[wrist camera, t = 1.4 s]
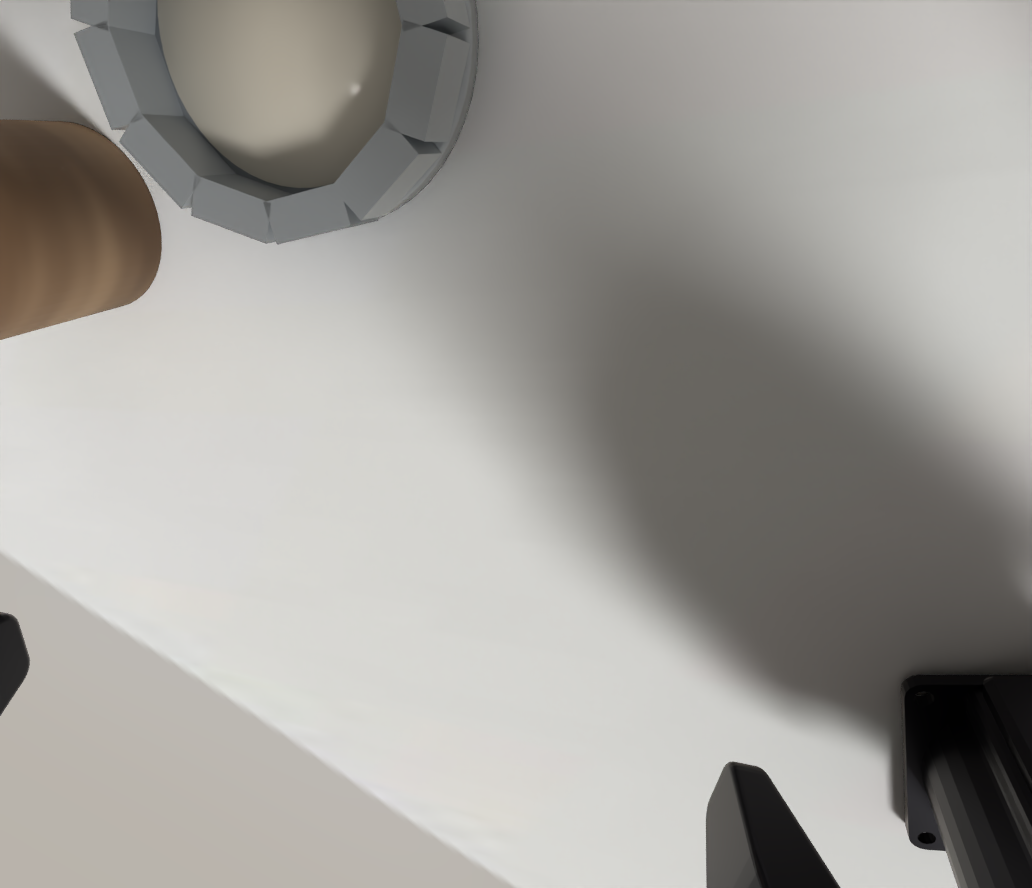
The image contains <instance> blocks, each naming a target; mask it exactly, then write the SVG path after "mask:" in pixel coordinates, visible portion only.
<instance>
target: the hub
mask: <svg viewBox="0 0 1032 888" xmlns="http://www.w3.org/2000/svg"><path fill="white" fill-rule="evenodd" d="M71 19H74V20H77V21H80V22H83V23H85V24H88V25H91V27H89V28H86V29H84V30H81V31H79V32H76V33H74V35H75V38H76V40H77V43H78V45H79V48H80V50H81V53H82V55H83V58H84V61H85V63H86V66H87V68H88V71H89V73H90V76H91V78H92V81H93V83H94V86H95V89H96V91H97V94H98V96H99V99H100V101H101V104H102V106H103V109H104V111H105V114H106V117H107V119H108V122H109V124H110V127H111V129H112V130H126V131H125V132H124V134H123V136H122V137H121V139H120V141H119V142H120V143H121V144H122V145H123V146H124V147H125V148H126V150H127V151H128V152H129V153H130V154H131V155H132V156H133V157H134V158H135V159H136V160H137V161H138V162H139V164H140V165H141V166H142V167H143V168H144V169H145V170H146V171H147V172H148V173H149V174H150V175H151V176H152V178H153V179H154V180H155V181H156V182H157V183H158V184H159V185H160V186H161V187H162V188H163V189H164V190H165V192H166V193H167V194H168V195H169V196H170V197H171V198H172V199H173V200H174V201H175V202H176V203H177V204H178V206H179V207H180V208H181V209H183V208H191V207H192V214H191V216H194V217H196V218H199V219H202V220H204V221H207V222H210V223H212V224H215V225H218V226H220V227H223V228H226V229H228V230H231V231H234V232H236V233H239V234H242V235H244V236H247V237H250V238H252V239H255V240H258V241H260V242H263V243H266V244H267V243H271V242H276V243H277V244H281V243H285V242H290V241H294V240H298V239H302V238H307V237H311V236H315V235H319V234H323V233H328V232H332V231H336V230H340V229H344V228H348V227H353V226H357V225H361V224H365V223H369V222H373V221H377V220H378V219H379V218H381V217H383V216H385V215H388V214H389V213H391V212H393V211H395V210H397V209H398V208H400V207H401V206H403V205H404V204H405V203H407V202H408V201H410V200H411V199H412V198H414V197H415V196H416V195H417V194H418V193H419V192H420V191H421V190H422V189H423V188H424V187H425V186H426V185H427V184H428V183H429V182H430V181H431V180H432V178H433V177H434V176H435V174H436V173H437V172H438V171H439V169H440V168H441V167H442V165H443V164H444V162H445V161H446V159H447V157H448V155H449V154H450V152H451V150H452V149H453V147H454V145H455V143H456V141H457V139H458V136H459V134H460V132H461V129H462V127H463V125H464V122H465V119H466V116H467V112H468V109H469V106H470V102H471V99H472V95H473V89H474V83H475V78H476V72H477V60H478V44H479V39H478V17H477V8H476V1H475V0H71Z"/></svg>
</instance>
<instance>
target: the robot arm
mask: <svg viewBox="0 0 1032 888" xmlns="http://www.w3.org/2000/svg"><path fill="white" fill-rule="evenodd" d="M29 665H30V658H29V654H28V651H27V648H26V645H25V641H24V638H23V635H22V632H21V629H20V625H19V622H18V621H17V619H16V618H15V617H14V616H13V615H11V614H8V613H3V612H0V716H1V714H2V712H3V711H4V709H5V708H6V706H7V705H8V703H9V702H10V700H11V699H12V697H13V696H14V694H15V693H16V691H17V690H18V688H19V687H20V685H21V684H22V682H23V680H24V678H25V677H26V675H27V672H28V669H29ZM923 691H924V692H929V693H927V694H926V695H922V696H919V695H916V694H917V693H919V692H923ZM901 709H902V739H903V768H904V797H905V826H906V829H907V833H908V836H909V839H910V842H911V843H912V844H913V845H914V846H917V847H919V848H921V849H927V850H940V851H946V853H947V856H948V859H949V862H950V865H951V868H952V871H953V874H954V877H955V880H956V883H957V886H958V888H1032V675H915V676H911V677H909V678H907V679H906V680H905V681H904V682H903V683H902V686H901ZM923 832H925V833H923ZM706 876H707V888H840V886H839V885H838V883H837V882H836V880H835V879H834V877H833V876H832V874H831V872H830V871H829V869H828V868H827V866H826V865H825V863H824V862H823V860H822V858H821V857H820V855H819V854H818V852H817V851H816V849H815V848H814V846H813V844H812V843H811V841H810V840H809V838H808V837H807V835H806V834H805V832H804V830H803V829H802V827H801V826H800V824H799V823H798V821H797V820H796V818H795V816H794V815H793V813H792V812H791V810H790V809H789V807H788V806H787V804H786V802H785V801H784V799H783V798H782V796H781V795H780V793H779V792H778V790H777V788H776V787H775V785H774V784H773V782H772V781H771V779H770V778H769V776H768V775H767V773H766V772H765V771H764V770H763V769H761V768H759V767H757V766H752V765H748V764H743V763H738V762H729V763H727V764H726V765H725V767H724V768H723V771H722V773H721V775H720V777H719V780H718V782H717V784H716V786H715V789H714V791H713V793H712V795H711V798H710V800H709V803H708V807H707V813H706Z"/></svg>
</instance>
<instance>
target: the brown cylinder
mask: <svg viewBox="0 0 1032 888" xmlns="http://www.w3.org/2000/svg"><path fill="white" fill-rule="evenodd" d="M160 258H161V230H160V223H159V219H158V214H157V211H156V208H155V205H154V202H153V199H152V197H151V194H150V192H149V190H148V188H147V186H146V184H145V182H144V180H143V179H142V177H141V175H140V174H139V172H138V171H137V169H136V168H135V166H134V165H133V164H132V162H131V161H130V160H129V159H128V158H127V157H126V155H125V154H124V153H123V152H122V151H121V150H120V149H119V148H118V147H117V146H116V145H115V144H113V143H112V142H111V141H109V140H108V139H107V138H106V137H104V136H103V135H101V134H99V133H98V132H96V131H94V130H92V129H90V128H88V127H85V126H83V125H79V124H76V123H71V122H62V121H31V120H1V119H0V340H2V339H5V338H9V337H13V336H16V335H20V334H23V333H27V332H31V331H34V330H38V329H41V328H45V327H49V326H52V325H56V324H59V323H63V322H67V321H70V320H74V319H77V318H81V317H85V316H88V315H92V314H95V313H99V312H103V311H106V310H110V309H113V308H117V307H121V306H124V305H127V304H130V303H132V302H133V301H135V300H137V299H138V298H139V297H141V296H142V295H143V294H144V293H145V292H146V291H147V290H148V288H149V287H150V285H151V284H152V282H153V280H154V278H155V276H156V273H157V271H158V267H159V263H160Z"/></svg>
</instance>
